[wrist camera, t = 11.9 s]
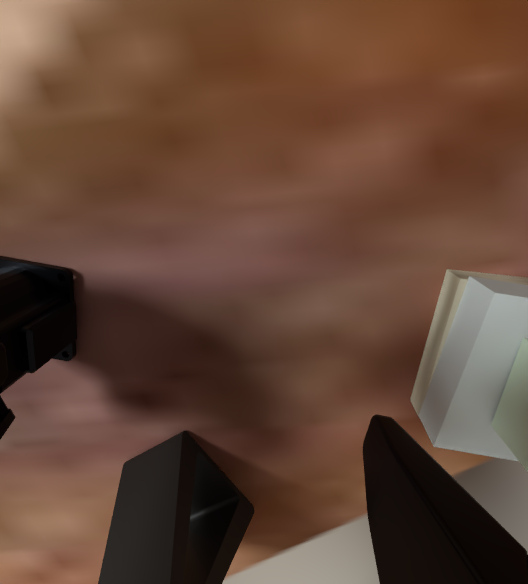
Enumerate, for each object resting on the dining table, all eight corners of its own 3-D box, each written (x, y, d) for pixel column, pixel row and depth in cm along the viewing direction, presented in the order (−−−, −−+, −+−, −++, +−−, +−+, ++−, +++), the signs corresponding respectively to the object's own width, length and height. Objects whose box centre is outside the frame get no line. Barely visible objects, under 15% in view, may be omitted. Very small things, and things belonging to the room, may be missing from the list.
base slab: (406, 392, 24) (418, 417, 21) (441, 265, 21) (460, 278, 18) (544, 410, 23) (572, 437, 21) (602, 282, 20) (642, 298, 18)
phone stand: (255, 507, 28) (226, 742, 16) (196, 532, 29) (134, 761, 18) (185, 428, 26) (97, 636, 14) (125, 459, 27) (5, 669, 16)
